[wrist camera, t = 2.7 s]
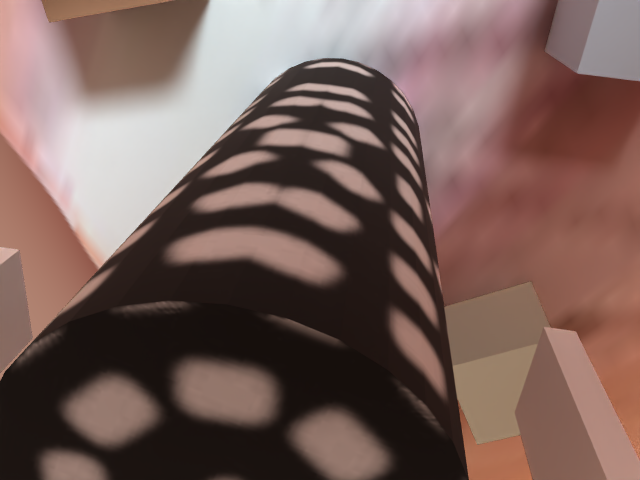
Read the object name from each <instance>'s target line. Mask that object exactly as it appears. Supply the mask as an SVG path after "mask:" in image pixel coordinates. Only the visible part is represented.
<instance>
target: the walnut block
mask: <svg viewBox="0 0 640 480" xmlns="http://www.w3.org/2000/svg"><path fill="white" fill-rule="evenodd" d="M168 1H174V0H42V3H43V6H44V9H45V12H46V15H47V18H48V21H49V22H55V21H61V20H66V19H72V18H78V17H83V16H89V15H95V14H100V13H106V12H112V11H117V10H123V9H129V8H134V7H140V6H146V5H151V4H157V3H162V2H168Z"/></svg>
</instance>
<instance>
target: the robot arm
mask: <svg viewBox="0 0 640 480" xmlns="http://www.w3.org/2000/svg"><path fill="white" fill-rule="evenodd" d="M31 339H32V331H31V324H30V318H29V311H28V304H27V298H26V291H25V285H24V277H23V271H22V264H21V257H20V250H18V249H10V248H4V247H0V373H1V372H2V371H3V370H4V368H5V367H6V366H7V365H8V364H9V363H10V362H11V361H12V360H13V359H14V358H15V356H17V354H18V353H19V352H20V351H21V350H22V349H23V348H24V347H25V346H26V345H27V344H28V342H30V340H31ZM515 416H516V420H517V424H518V427H519V431H520V435H521V438H522V442H523V446H524V449H525V453H526V457H527V460H528V464H529V467H530V471H531V475H532V478H533V480H640V460H639V458H638V456H637V454H636V452H635V450H634V448H633V446H632V444H631V442H630V440H629V438H628V436H627V434H626V432H625V430H624V428H623V426H622V424H621V422H620V420H619V418H618V416H617V414H616V412H615V410H614V408H613V406H612V404H611V402H610V400H609V397H608V395H607V393H606V391H605V389H604V387H603V385H602V383H601V381H600V379H599V377H598V375H597V373H596V371H595V369H594V367H593V365H592V363H591V361H590V359H589V357H588V355H587V353H586V351H585V349H584V347H583V345H582V343H581V341H580V339H579V337H578V335H577V333H576V331H569V330H563V329H556V328H549V327H543V330H542V333H541V336H540V339H539V342H538V345H537V348H536V351H535V354H534V357H533V360H532V363H531V366H530V369H529V372H528V374H527V377H526V380H525V383H524V386H523V389H522V392H521V395H520V398H519V401H518V404H517V407H516V410H515Z"/></svg>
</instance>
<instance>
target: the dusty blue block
mask: <svg viewBox="0 0 640 480" xmlns="http://www.w3.org/2000/svg"><path fill="white" fill-rule="evenodd" d="M545 52H546V53H548V54H549V55H551V56H552V57H553V58H555V59H556V60H558V61H559V62H561V63H562V64H564V65H565V66H567V67H568V68H570V69H571V70H573V71H574V72H576V73H578V74H586V75H594V76H602V77H610V78H618V79H626V80H633V81H640V0H558V3H557V6H556V10H555V14H554V17H553V21H552V25H551V28H550V32H549V36H548V40H547V43H546V47H545Z"/></svg>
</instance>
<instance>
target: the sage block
mask: <svg viewBox="0 0 640 480" xmlns="http://www.w3.org/2000/svg"><path fill="white" fill-rule="evenodd" d="M444 309H445V316H446V323H447V330H448V337H449V344H450V351H451V358H452V365H453V372H454V379H455V386H456V393H457V399H458V401H459V403H460V406H461V408H462V410H463V413H464V415H465V417H466V420H467V422H468V424H469V427H470V429H471V431H472V434H473V436H474V438H475V441H476V443H477V445H479V444H483V443H488V442H492V441H497V440H501V439H506V438H510V437H515V436H519V435H520V431H519V427H518V424H517V420H516V416H515V410H516V407H517V404H518V401H519V398H520V395H521V392H522V389H523V386H524V383H525V380H526V377H527V374H528V372H529V369H530V366H531V363H532V360H533V357H534V354H535V351H536V348H537V345H538V342H539V339H540V336H541V333H542V330H543V327H549V328H551V327H550V325H549V322H548V320H547V318H546V315H545V313H544V310H543V308H542V306H541V303H540V301H539V298H538V296H537V294H536V291H535V289H534V286H533V284H532V282H531V281H530V282H526V283H523V284H520V285H516V286H513V287H509V288H506V289H503V290H499V291H496V292H492V293H489V294H486V295H482V296H479V297H475V298H472V299H469V300H465V301H462V302H458V303H455V304H452V305H448V306H445V307H444Z"/></svg>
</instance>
